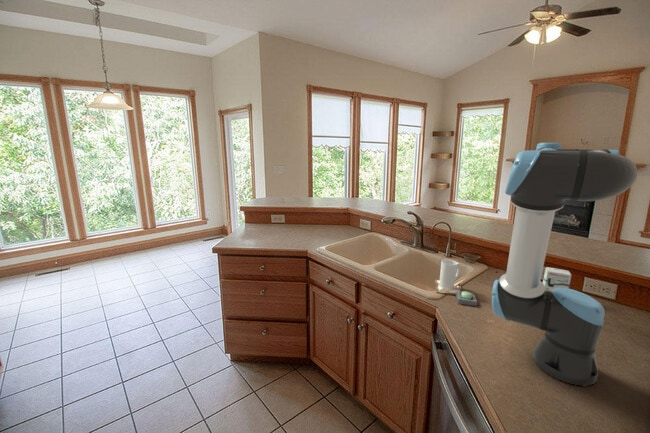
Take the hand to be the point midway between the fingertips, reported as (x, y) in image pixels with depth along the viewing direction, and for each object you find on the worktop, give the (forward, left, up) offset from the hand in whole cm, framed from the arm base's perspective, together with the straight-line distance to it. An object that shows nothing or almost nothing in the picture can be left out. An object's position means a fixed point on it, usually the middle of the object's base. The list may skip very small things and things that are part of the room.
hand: (531, 242), depth 121 cm
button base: (-6, +22, -26) cm, 35 cm away
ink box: (+11, -16, -27) cm, 33 cm away
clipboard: (+4, +28, -26) cm, 39 cm away
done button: (-6, +22, -26) cm, 34 cm away
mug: (+4, +28, -26) cm, 38 cm away
